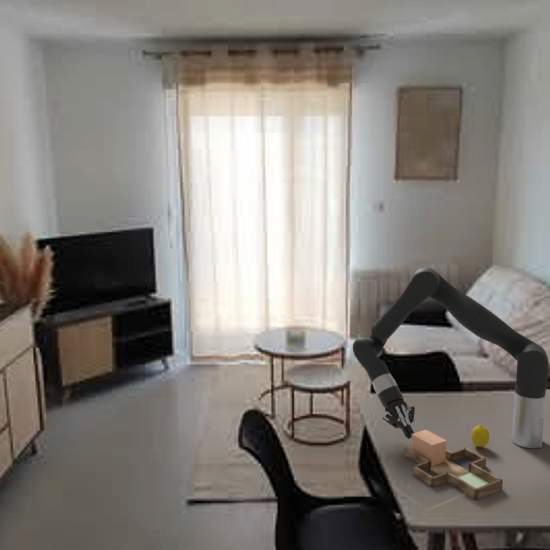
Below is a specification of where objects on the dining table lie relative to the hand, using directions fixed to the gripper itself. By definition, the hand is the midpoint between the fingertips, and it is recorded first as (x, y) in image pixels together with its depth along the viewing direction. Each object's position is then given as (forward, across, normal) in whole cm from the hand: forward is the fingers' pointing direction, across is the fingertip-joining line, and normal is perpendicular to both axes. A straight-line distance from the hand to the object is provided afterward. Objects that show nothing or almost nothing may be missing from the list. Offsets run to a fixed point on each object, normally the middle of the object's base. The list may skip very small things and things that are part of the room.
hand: (411, 437), depth 194 cm
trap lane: (+15, 0, -9) cm, 17 cm away
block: (+8, 0, -3) cm, 9 cm away
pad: (+21, 0, -16) cm, 26 cm away
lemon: (+11, +20, -5) cm, 23 cm away
